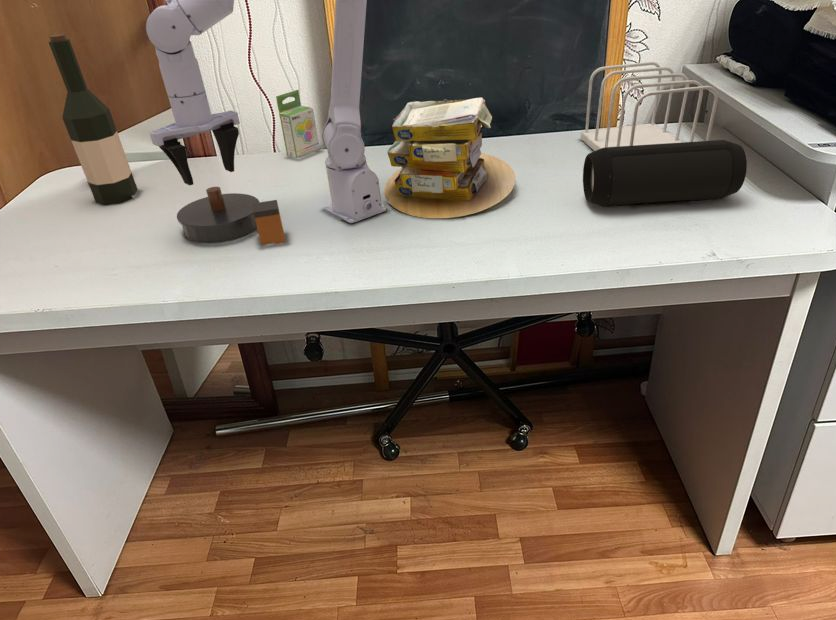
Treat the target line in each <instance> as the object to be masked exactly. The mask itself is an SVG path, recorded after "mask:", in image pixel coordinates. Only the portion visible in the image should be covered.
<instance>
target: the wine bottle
mask: <svg viewBox="0 0 836 620" xmlns="http://www.w3.org/2000/svg"><path fill="white" fill-rule="evenodd" d="M48 38H49V40H50V41H48V44H49V47H50V50H51V52H52V55H53V58H54V60H55V63H56V65H57V68H58V71H59V74H60V76H61V78H62V82H63V83H64V86H65V89H66V98H65V103H64V107H63V113H62V117H61V118H62V121H63V123H64V126H65V128H66V131H67V134H68V136H69V138H70V141H71V143H72V145H73V148H74V151H75V154H76V157H77V159H78V161H79V164H80V166H81V168H82V171H83V174H84V176H85V179H86V181H87V183H88V184H87V185H88V186H89V189H90V191H91V194H92V197H93V199H94V202H95V203H97V204H100V205H103V206H109V205H117V204H123V203H125V202H129V201H130V200H133V199H134V197H133V196H135V195H136V193H137V191H138V187H137V184H136V181H135V178H134V176H133V175H134V174H133V172H132V169H131V167H130V163H129V161H128V158H127V155H126V153H125V149H124V147H123V144H122V141H121V139H120V135H119V132H118V129H117V127H116V124H115V121H114V118H113V116H112V113H111V110H110V108H109V107H108V106H107V105H106V104H105V103H103V101H102V100H100V98H98V97H97V95H95V94H94V93H93V92H92V91H91V90H89V89H88V87H87V83H86V81H85V78H84V76H83V73H82V71H81V68H80V64H79V61H78V59H77V57H76V53H75V51H74V48H73V45H72V43H71V39H70V38H67V36H66V34H64V33H60V34H59V33H58V34H53V35H52V34H51V35H50V36H49V37H48Z"/></svg>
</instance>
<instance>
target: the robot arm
mask: <svg viewBox="0 0 836 620" xmlns="http://www.w3.org/2000/svg"><path fill="white" fill-rule="evenodd" d="M164 1H165V3H166V4H167V5H165V4H164V5H160V6H158V7H156V8H155V9H153V11H151V13H150V14H149V15H148V18H147V19H146V22H145V23H146V24H145V31H146V35H147V37H148V39H149V41H150V42H151V44H152V45H153V47H154V49H155V55H156V57H157V59H158V66H159V71H160V74H161V78H162V81H163V84H164V88H165V92H166V95H167V98H168V101H169V105H170V108H171V111H172V114H173V118H174V121H175V122H172V123H170V124H168V125H165V126H162V127H160V128H157V129H155V130H151V131H149V132H148V133H149V136H150V139H151V143H152V145H154V146H157V147H158V148H159V149H160V150H161V151H162V152H163V153H164V154H165V155H166V156H167V158H168V159H169V160H170V162H171V163H172V164H173V165H174V167H175V169H176V170H177V171H178V173H179V175H180V177H181V179H182V181H183V183H184V184H185V185H187V186H192V185H194V178H193V176H192V171H191V169H190V166H189V161H188V156H187V147H186V146H185V145H182V143H181V141H179V140H182V139H186V138H189V137H192V136H196V135H199V134H204V133H207V132H211V131H212V133H213V136H214V139H215V141H216V144H217V146H218V149H219V153H220V158H221V162H222V164H223V167H224V170H225V171H227V172H230V173H233V172H235V153H236V152H235V151H236V147H237V142H238V138H239V135H240V131H239V128H238V127H237V126H236V125H241V121H240V117H239V113H238V111H235V110H227V111H222V112H218V113H217V112H215V113H212V111H211V107H210V103H209V99H208V96H207V91H206V88H205V83H204V80H203V76H202V72H201V69H200V65H199V61H198V59H197V58H196V56H195V55H196V54H195V51H194V47H193V44H192V41H191V36H201V35H202V34H203V33H205V32H206V31H208V30H209V29H211V28H212V27H214V26H215V25H216V24H218V23H219V22H221V21H222V20H224V19H225V18H226V17H228V16H229V15H231V14H233V12H234V6H235V0H164ZM367 1H368V0H335V1H334V21H333V22H334V23H333V25H334V26H333V44H332V45H333V46H332V65H331V86H330V89H331V90H330V103H329V107H328V113H327V115H328V116H327V120H326V122H325V124H324V126H323V127H322V130H321V138H322V142H323V144H324V145H325V148H326V151H327V157H326V159H325V161H324V165H325V169H326V175H327V176H326V177H327V183H328V188H329V189H328V190H329V195H330V200H331V204H328V205H325V206H323V207H322V208H323V209H325V210H326V211H329V212H330V213H331V214H334V215H336V216H338V217H339V218H341V219H342V220H343V221H345V222H347V223H348V224H354V223H357V222H360V221H362V220H365V219H368V218H371V217H373V216H376V215H380V214H381V213H384V212H386V211H387V208H386V207H385V206H383V205H382V196H381V187H380V179H379V177H378V175H377V173H375V172H374V171H373V170H371V168H370V167H369V166H368V165H369V164H368V163H367V158H366V156H365V151H366V147H365V143H364V140H363V138H362V134H361V132H362V131H361V130H362V122H361V114H360V101H361V87H362V86H361V85H362V71H363V57H364V47H365V46H364V42H365V30H366V17H367V16H366V15H367Z"/></svg>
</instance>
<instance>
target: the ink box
mask: <svg viewBox="0 0 836 620" xmlns="http://www.w3.org/2000/svg"><path fill="white" fill-rule="evenodd" d="M275 98H276V105H277V109H278V116H279V119H280V126H281V131H282V136H283V141H284V147H285V152H286V156H287V157H292V158H295V159H300V158H302V157H305V156H307V155H310V154H312V153H315V152H317V151H320V150H321V146H320V141H319V140H320V139H319V134H318V129H317V124H316V118H315V112H314V108H313V107H311V106H305V105H302V104H301V103H302V102H301V97H300V91H299V89H296V90H293V91H289V92H286V93H282V94H279V95H276V96H275ZM288 98H294V100H291V101H288V102H286V103H283V102H284V101H285V100H287V99H288Z"/></svg>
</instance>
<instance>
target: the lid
mask: <svg viewBox="0 0 836 620" xmlns="http://www.w3.org/2000/svg"><path fill="white" fill-rule="evenodd" d="M221 188H222V187H220V186H210V187H208V188H206V190H205V191H206V195H207V196H205V197H202V198H198V199H197V200H194V201H191V202H190V203H188V204H186V205H184V206H183V207H182V208H180V209H179V211H177V213H176V219H177V222H178V223H179V224H180V225H181V226H182V225H183V226H186V227H190V228H198V229H208V228H218V227H223V226H228V225H232V224H235V223H238V222H241V221H243V220H246V219H248V218H249V217H251V216H253V215H254V213H253V203H259V202H260V199H258V198H257V197H256V196H254V195H251V194H246V193H240V192H239V193H237V192H235V193H232V192H231V193H223V192H222V189H221ZM183 226H182V227H183Z"/></svg>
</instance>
